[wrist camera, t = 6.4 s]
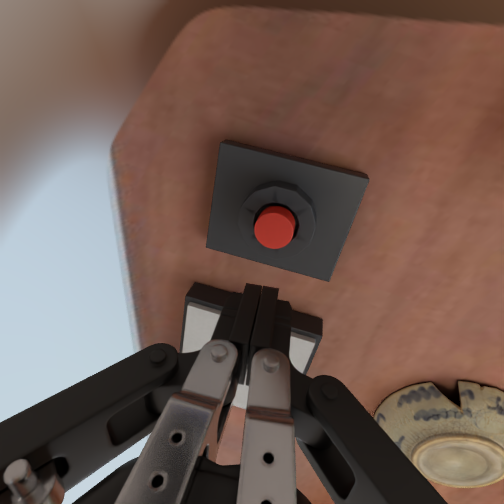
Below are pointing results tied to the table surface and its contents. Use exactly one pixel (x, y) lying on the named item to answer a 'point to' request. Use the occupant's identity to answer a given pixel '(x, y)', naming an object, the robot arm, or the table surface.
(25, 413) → the robot arm
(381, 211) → the table surface
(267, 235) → the button
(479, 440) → the decorative bowl
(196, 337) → the scale
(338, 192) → the panel
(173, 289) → the table surface
